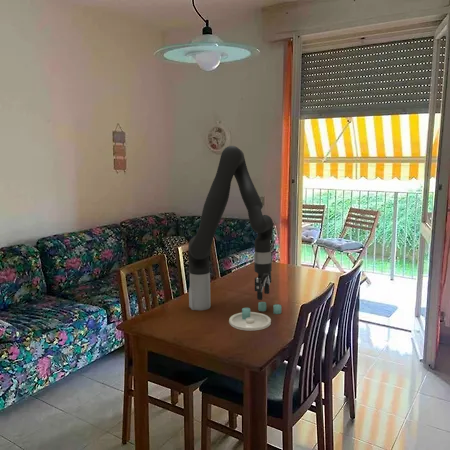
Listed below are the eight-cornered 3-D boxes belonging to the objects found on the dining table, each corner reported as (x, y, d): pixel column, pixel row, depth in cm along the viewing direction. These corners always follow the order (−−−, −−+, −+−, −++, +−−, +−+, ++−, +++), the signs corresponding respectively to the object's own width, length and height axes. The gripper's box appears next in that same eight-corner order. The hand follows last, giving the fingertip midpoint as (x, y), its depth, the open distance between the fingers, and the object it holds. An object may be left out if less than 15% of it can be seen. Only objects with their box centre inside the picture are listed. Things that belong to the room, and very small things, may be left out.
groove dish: (237, 334, 166) (237, 329, 165) (224, 318, 182) (224, 313, 181) (277, 329, 171) (277, 323, 170) (261, 314, 187) (261, 309, 186)
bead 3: (275, 316, 184) (275, 307, 183) (271, 313, 187) (272, 304, 187) (282, 315, 185) (282, 306, 184) (279, 312, 188) (279, 303, 188)
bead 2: (260, 313, 187) (260, 304, 187) (257, 310, 191) (257, 302, 190) (267, 312, 188) (267, 304, 188) (264, 309, 192) (264, 301, 191)
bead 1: (243, 320, 178) (243, 311, 177) (240, 317, 181) (240, 308, 181) (251, 319, 179) (251, 310, 178) (248, 316, 182) (248, 307, 182)
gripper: (265, 266, 178) (265, 302, 181) (276, 257, 191) (276, 292, 194) (248, 264, 182) (249, 300, 184) (260, 256, 194) (261, 290, 197)
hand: (263, 296), depth 189 cm, fingers open, 8 cm apart
